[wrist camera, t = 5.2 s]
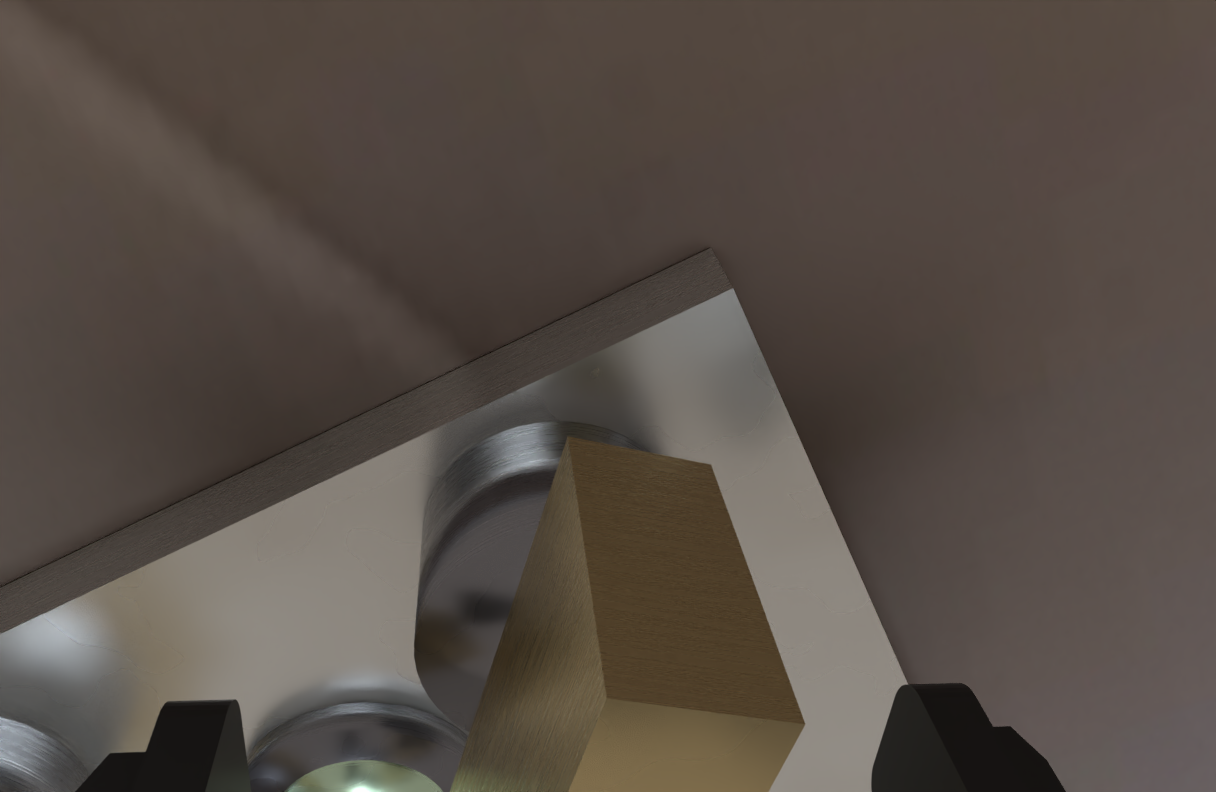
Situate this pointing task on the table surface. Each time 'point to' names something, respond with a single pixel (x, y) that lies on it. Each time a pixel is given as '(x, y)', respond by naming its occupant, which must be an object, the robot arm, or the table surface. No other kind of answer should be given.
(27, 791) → the knob
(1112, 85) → the table surface
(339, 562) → the level plate
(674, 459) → the knob
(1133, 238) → the table surface
